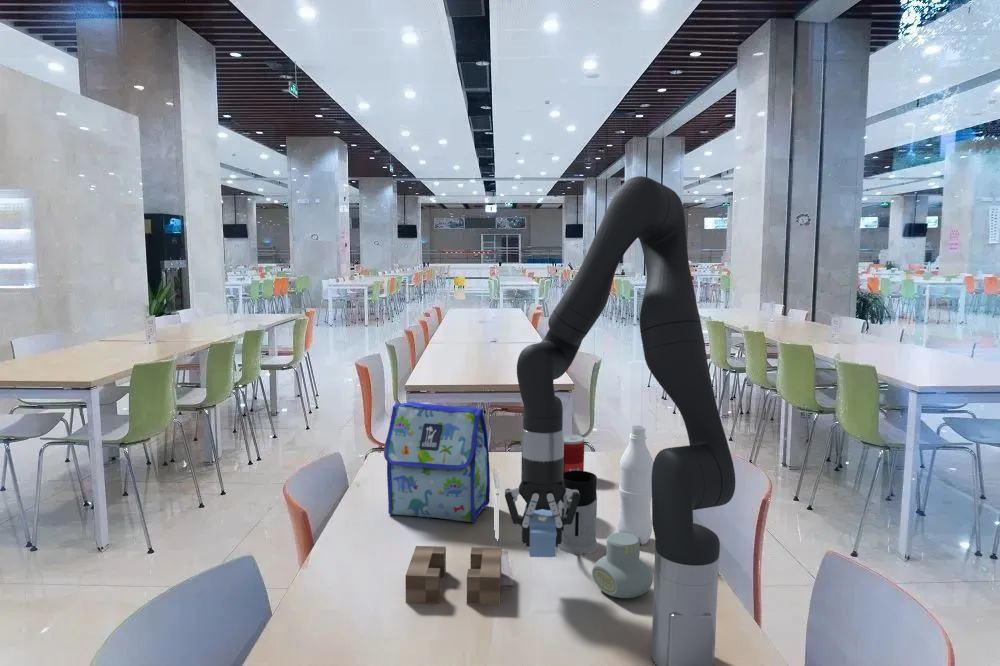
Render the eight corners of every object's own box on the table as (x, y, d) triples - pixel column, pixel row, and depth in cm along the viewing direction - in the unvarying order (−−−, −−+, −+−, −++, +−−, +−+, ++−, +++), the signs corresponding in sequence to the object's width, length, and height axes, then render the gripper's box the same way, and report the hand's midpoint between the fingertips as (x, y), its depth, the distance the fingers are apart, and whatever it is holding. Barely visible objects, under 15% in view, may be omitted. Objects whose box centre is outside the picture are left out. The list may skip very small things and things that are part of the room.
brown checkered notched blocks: (499, 604, 118) (499, 577, 117) (405, 602, 118) (405, 575, 118) (501, 572, 130) (501, 547, 129) (416, 570, 130) (416, 545, 130)
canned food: (588, 475, 187) (589, 436, 186) (575, 483, 181) (576, 443, 179) (563, 470, 191) (564, 432, 190) (550, 478, 185) (550, 439, 183)
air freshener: (659, 598, 121) (661, 545, 119) (623, 610, 117) (625, 555, 115) (620, 573, 130) (621, 523, 129) (585, 583, 126) (586, 532, 125)
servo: (551, 534, 128) (552, 500, 127) (556, 562, 116) (556, 525, 115) (528, 534, 128) (528, 500, 127) (530, 561, 116) (530, 524, 115)
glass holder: (605, 542, 144) (606, 474, 142) (573, 567, 132) (575, 494, 130) (568, 532, 149) (570, 466, 147) (535, 556, 137) (536, 485, 135)
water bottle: (651, 549, 141) (656, 432, 138) (617, 545, 142) (620, 430, 139) (651, 535, 148) (655, 423, 145) (618, 532, 149) (621, 421, 146)
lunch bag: (381, 520, 155) (379, 409, 152) (407, 495, 171) (406, 394, 168) (473, 530, 149) (474, 415, 146) (492, 503, 165) (493, 399, 162)
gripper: (502, 459, 117) (502, 554, 118) (585, 459, 116) (583, 554, 118) (502, 447, 124) (502, 537, 126) (580, 448, 124) (578, 537, 126)
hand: (541, 545), depth 122 cm, fingers closed on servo, 4 cm apart
